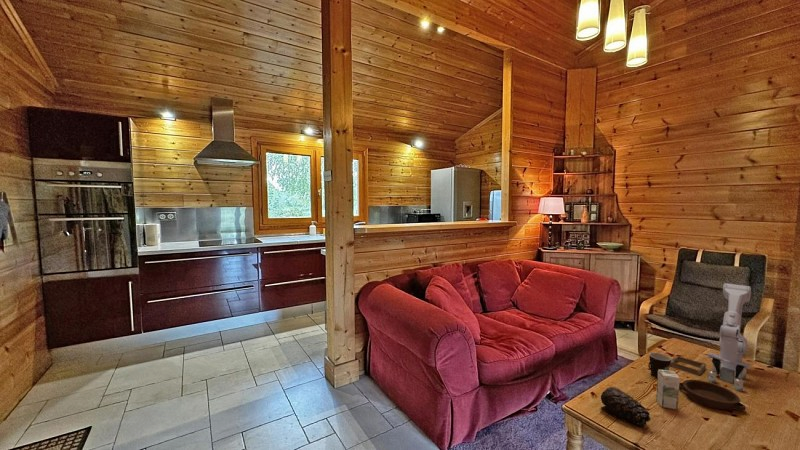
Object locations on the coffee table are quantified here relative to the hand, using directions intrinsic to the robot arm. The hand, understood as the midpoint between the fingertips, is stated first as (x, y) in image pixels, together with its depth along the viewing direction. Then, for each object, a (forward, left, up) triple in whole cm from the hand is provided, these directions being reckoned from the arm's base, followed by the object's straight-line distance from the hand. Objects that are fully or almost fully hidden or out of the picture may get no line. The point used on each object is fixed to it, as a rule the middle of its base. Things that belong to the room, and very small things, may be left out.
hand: (727, 376), depth 160 cm
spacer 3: (-8, +4, -1) cm, 9 cm away
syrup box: (+48, -11, -2) cm, 49 cm away
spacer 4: (+8, +5, -1) cm, 10 cm away
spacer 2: (-8, -5, -1) cm, 9 cm away
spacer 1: (+8, -4, -1) cm, 9 cm away
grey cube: (0, 0, -2) cm, 2 cm away
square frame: (0, -15, -1) cm, 15 cm away
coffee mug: (+23, -22, -2) cm, 32 cm away
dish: (+29, -1, -2) cm, 29 cm away
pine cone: (+70, -19, -2) cm, 73 cm away
